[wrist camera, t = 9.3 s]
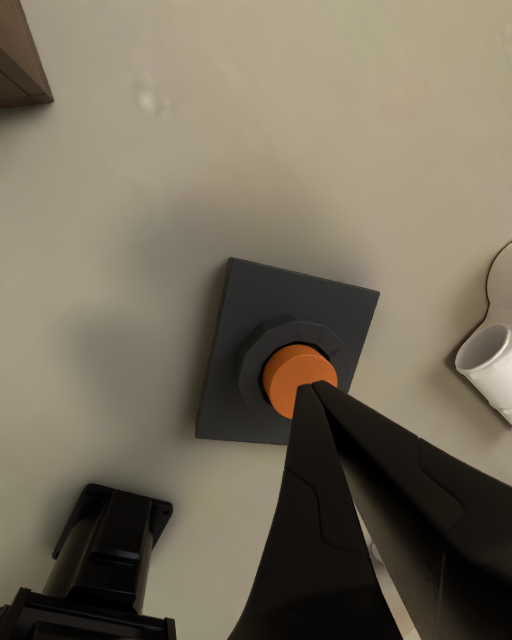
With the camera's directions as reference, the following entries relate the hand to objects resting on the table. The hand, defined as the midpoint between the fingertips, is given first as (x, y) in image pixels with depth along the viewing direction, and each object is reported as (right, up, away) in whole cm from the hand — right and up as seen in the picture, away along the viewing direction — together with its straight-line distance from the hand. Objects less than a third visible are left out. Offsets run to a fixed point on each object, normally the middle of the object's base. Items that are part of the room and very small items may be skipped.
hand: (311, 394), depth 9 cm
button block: (0, 0, +12) cm, 12 cm away
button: (+1, -1, +9) cm, 9 cm away
